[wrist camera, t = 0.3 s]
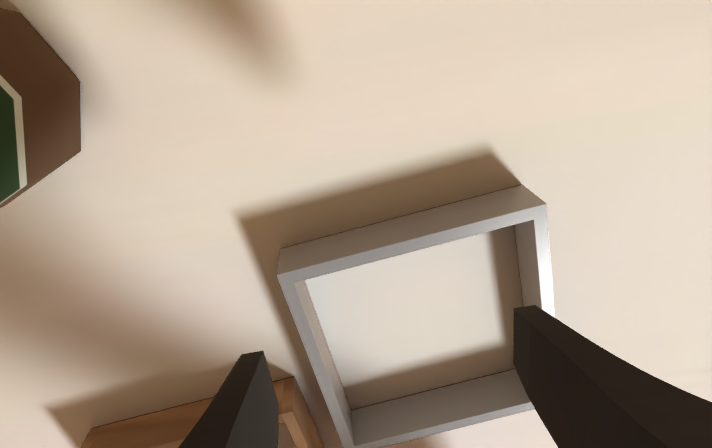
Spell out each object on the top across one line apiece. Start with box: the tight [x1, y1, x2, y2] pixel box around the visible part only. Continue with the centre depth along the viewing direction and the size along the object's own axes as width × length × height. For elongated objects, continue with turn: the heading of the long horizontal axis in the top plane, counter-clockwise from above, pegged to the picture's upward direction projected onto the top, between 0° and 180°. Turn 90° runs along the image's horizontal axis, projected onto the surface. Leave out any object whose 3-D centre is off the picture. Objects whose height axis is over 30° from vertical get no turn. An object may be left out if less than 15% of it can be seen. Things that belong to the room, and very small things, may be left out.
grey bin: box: [276, 185, 555, 448], centre depth 23 cm, size 12×12×2 cm
